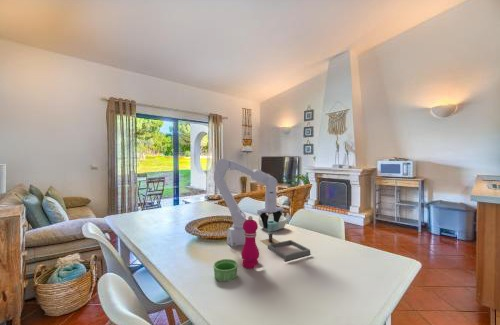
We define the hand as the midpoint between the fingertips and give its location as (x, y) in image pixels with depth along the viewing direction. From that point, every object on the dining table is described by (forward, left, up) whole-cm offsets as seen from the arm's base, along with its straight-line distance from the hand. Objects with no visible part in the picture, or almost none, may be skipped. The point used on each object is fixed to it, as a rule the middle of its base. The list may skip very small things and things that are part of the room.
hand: (270, 227), depth 116 cm
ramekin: (-32, -18, -9) cm, 38 cm away
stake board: (0, 0, -8) cm, 8 cm away
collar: (0, 0, -1) cm, 1 cm away
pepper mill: (-20, -15, -9) cm, 26 cm away
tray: (+1, -13, -8) cm, 16 cm away
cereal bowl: (+14, +19, -9) cm, 25 cm away
